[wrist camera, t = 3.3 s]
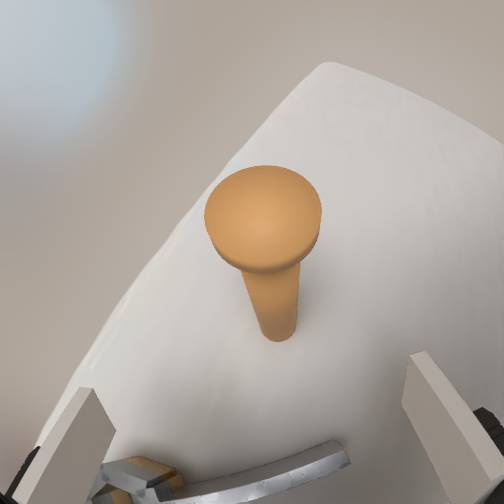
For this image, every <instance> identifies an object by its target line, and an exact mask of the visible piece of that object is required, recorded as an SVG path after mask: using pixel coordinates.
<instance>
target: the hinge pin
mask: <svg viewBox="0 0 504 504" xmlns="http://www.w3.org/2000/svg"><path fill="white" fill-rule="evenodd" d="M321 214H322V209H321V202H320V199H319V196H318V194H317V192H316V190H315V189H314V187H313V186H312V185H311V184H310V183H309V182H308V181H307V180H306V179H305V178H304V177H302V176H301V175H299V174H298V173H296V172H294V171H291V170H289V169H286V168H282V167H278V166H255V167H250V168H246V169H243V170H240V171H238V172H236V173H234V174H232V175H230V176H228V177H227V178H225V179H224V180H223V181H222V182H221V183H219V185H218V186H217V187H216V188H215V189H214V190H213V192H212V193H211V195H210V197H209V198H208V201H207V203H206V207H205V213H204V220H205V226H206V230H207V232H208V234H209V236H210V239H211V241H212V243H213V245H214V248H215V249H216V251H217V253H218V254H219V255H220V256H221V257H222V259H224V260H225V261H226V262H227V263H228V264H230V265H232V266H233V267H235V268H237V269H239V270H241V273H242V276H243V279H244V282H245V284H246V287H247V290H248V293H249V296H250V299H251V302H252V304H253V307H254V310H255V313H256V316H257V319H258V321H259V324H260V327H261V330H262V332H263V334H264V336H265V337H266V338H268V339H269V340H271V341H275V342H281V341H285V340H287V339H288V338H290V337H291V336H292V334H293V333H294V331H295V326H296V314H297V301H298V287H299V272H300V261H302V260H303V259H304V258H305V257H306V256H307V255H308V254H309V253H310V251H311V250H312V249H313V247H314V245H315V243H316V241H317V238H318V235H319V229H320V222H321Z"/></svg>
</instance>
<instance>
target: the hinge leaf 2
mask: <svg viewBox="0 0 504 504" xmlns="http://www.w3.org/2000/svg"><path fill="white" fill-rule="evenodd" d="M350 464H351V462H350V460H349V458H348V455H347V453H346V451H345V449H344V448H343V447H341V446H340V445H339V444H338V443H336V442H335V441H334V440H330V441H327V442H325V443H323V444H320V445H318V446H315V447H313V448H310V449H308V450H305V451H303V452H300V453H297V454H295V455H292V456H289V457H287V458H284V459H281V460H278V461H275V462H272V463H269V464H266V465H263V466H260V467H256V468H253V469H250V470H246V471H243V472H239V473H236V474H232V475H228V476H224V477H220V478H216V479H212V480H207V481H203V482H198V483H193V484H188V485H185V486H183V487H182V488H181V489H179V490H178V491H176V492H175V493H174V492H173V490H172V487H171V485H170V482H169V480H165V481H162V475H163V474H160V473H157V472H154V471H151V470H148V469H145V468H143V467H140V466H137V465H135V464H132V463H129V462H127V461H124V460H120V461H113V462H108V463H103V464H101V467H100V469H99V471H98V474H97V476H96V478H95V481H94V483H93V486H92V488H91V490H90V493H89V495H88V498H87V500H86V503H85V504H114V502H113V499H112V497H111V494H110V492H111V491H112V490H113V489H114V488H115V487H117V488H120V489H122V490H124V491H127V492H129V493H132V494H134V495H136V496H138V498H139V500H140V502H141V504H238V503H242V502H246V501H250V500H254V499H257V498H261V497H265V496H268V495H271V494H275V493H278V492H281V491H284V490H287V489H290V488H293V487H296V486H299V485H301V484H304V483H307V482H310V481H312V480H315V479H317V478H320V477H322V476H325V475H327V474H330V473H332V472H334V471H337V470H339V469H341V468H344V467H346V466H348V465H350Z"/></svg>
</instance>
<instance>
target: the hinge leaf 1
mask: <svg viewBox="0 0 504 504" xmlns="http://www.w3.org/2000/svg"><path fill="white" fill-rule="evenodd" d="M122 460H124V461H127V462H129V463H132V464H135V465H137V466H140V467H143V468H145V469H148V470H151V471H154V472H157V473H160V474H163V475H162V481H165V480H169V482H170V485H171V487H172V490H173V492H174V493H175V492H176V491H178V490H179V489H181V488H182V487H183V486H185V485H186V484H185V482H184V480H183V477H182V475H181V473H179V474H175V469H176V468H173V467H169V466H166V465H163V464H160V463H157V462H154V461H151V460H148V459H145V458H143V457H140V456H137V457H131V458H127V459H122ZM118 461H120V460H118ZM110 494H111V497H112V499H113V502H114V504H133V503H132V500H131V498H130V495H129V493H128V492H127V491H124V490H122V489H120V488H117V487H115V488H114V489H113V490H112V491H111V492H110Z"/></svg>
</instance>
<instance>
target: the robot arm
mask: <svg viewBox="0 0 504 504" xmlns="http://www.w3.org/2000/svg"><path fill="white" fill-rule="evenodd" d="M401 405H402V407H403V409H404V410H405V412H406V414H407V416H408V418H409V420H410V422H411V424H412V426H413V427H414V429H415V431H416V433H417V435H418V437H419V439H420V441H421V443H422V445H423V447H424V449H425V451H426V453H427V455H428V457H429V459H430V461H431V463H432V465H433V467H434V469H435V471H436V473H437V475H438V478H439V480H440V482H441V484H442V486H443V488H444V490H445V492H446V495H447V497H448V499H449V501H450V503H451V504H483V503H484V504H504V428H503V426H502V425H500V422H499V421H498V420H497V418H496V417H495V416H494V414H493V413H491V412H489V411H488V410H486V409H485V408H483V407H482V408H479V409H477V410H475V411H473V412H472V411H471V410H470V408H469V407H468V405H467V404H466V403H465V401H464V400H463V399H462V397H461V396H460V395H459V393H458V392H457V391H456V389H455V388H454V387H453V385H452V384H451V383H450V382H449V380H448V379H447V378H446V376H445V375H444V374H443V372H442V371H441V370H440V369H439V367H438V366H437V365H436V364H435V362H434V361H433V360H432V359H431V357H430V356H429V355H428V354H427V352H426V351H422V352H418V353H415V354H411V355H409V358H408V365H407V372H406V378H405V384H404V389H403V395H402V400H401ZM115 432H116V429H115V428H114V426H113V424H112V422H111V421H110V419H109V417H108V415H107V414H106V412H105V410H104V408H103V406H102V405H101V403H100V401H99V399H98V397H97V395H96V393H95V391H94V389H93V388H83V387H79V389H78V390H77V392H76V393H75V395H74V396H73V398H72V399H71V401H70V402H69V404H68V405H67V407H66V408H65V410H64V411H63V413H62V414H61V416H60V418H59V419H58V421H57V422H56V424H55V425H54V427H53V428H52V430H51V432H50V433H49V435H48V436H47V438H46V440H45V441H44V443H43V444H42V446H41V447H40V446H38V447H36V448H35V449H34V450H33V451H32V452H31V453H30V454H29V455H28V457H27V459H26V460H25V464H23V465H22V467H21V470H20V471H19V472H18V474H17V475H16V477H15V479H14V480H13V482H12V484H11V485H10V487H9V489H8V491H7V492H6V494H5V495H3V494H2V493H1V492H0V504H85V503H86V500H87V498H88V495H89V493H90V490H91V488H92V486H93V483H94V481H95V478H96V476H97V474H98V471H99V469H100V467H101V464H102V462H103V460H104V457H105V455H106V453H107V450H108V448H109V446H110V444H111V441H112V439H113V437H114V435H115Z"/></svg>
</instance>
